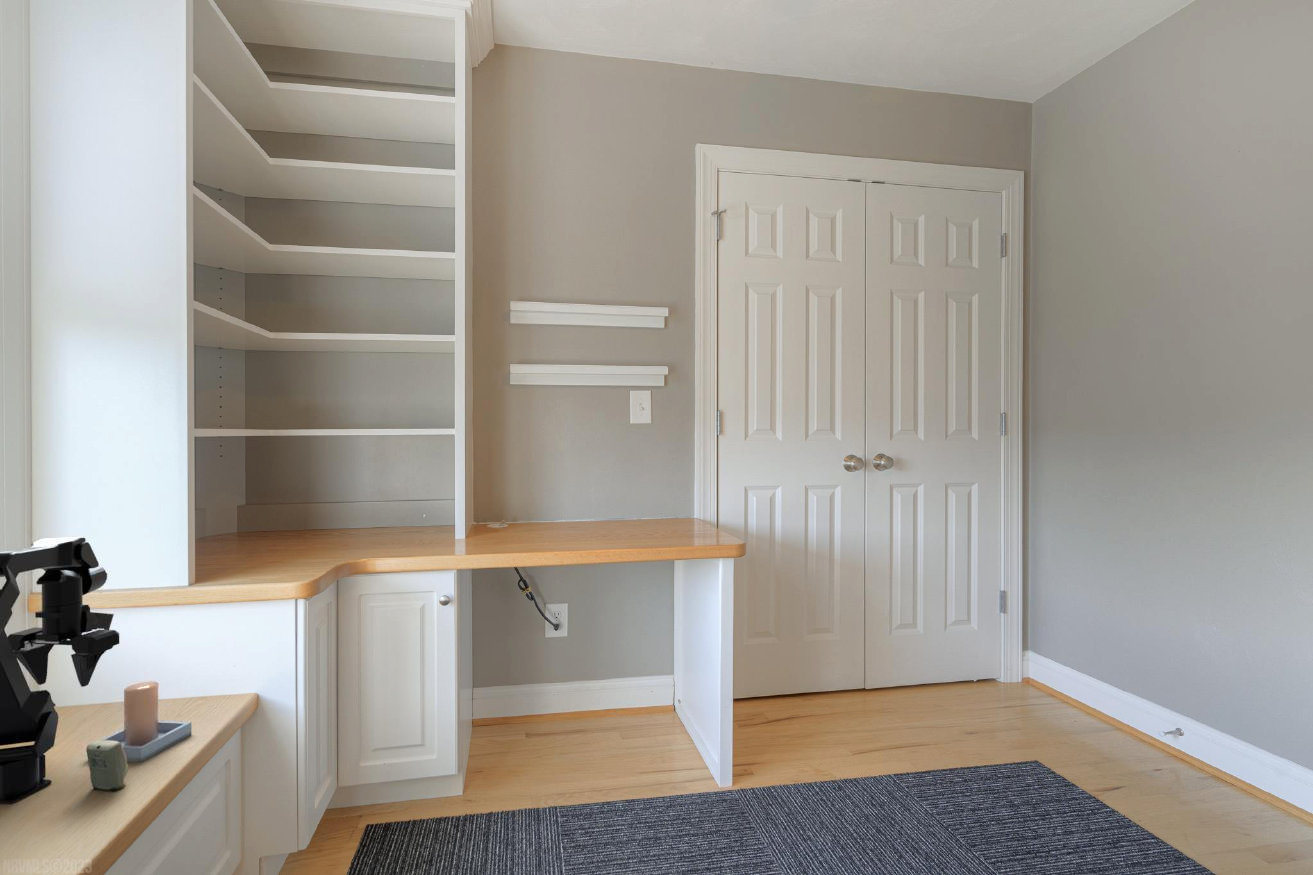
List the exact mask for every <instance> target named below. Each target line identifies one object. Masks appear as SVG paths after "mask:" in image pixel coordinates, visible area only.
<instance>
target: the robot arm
mask: <svg viewBox="0 0 1313 875" xmlns="http://www.w3.org/2000/svg"><path fill="white" fill-rule="evenodd" d="M86 540H87V539H86V538H85V537H84V536H67V537H66V536H65V537H64V536H63V537H61V536H60V537H44V538H41V539H39V540H36V541H34V542H32V543H31V546H29V547H24V548H17V549H11V550H6V551H5V550H4V551H0V578H4V579H5V580H6V581H5V582H4V584H3V586H2V588H1V589H0V746H9V745H10V746H11V745H18V744H25V743H33V744H28V745H21V746H12V747H6V748H0V804H13V803H16V802H18V801H19V800H22V799H23V798H26V797H28V796H29V795H31V794H33V793H35V792H37V791H39V790H40V789H43V788H45V787H47V786H49V785H51V784H52V781H53V780H52V779H46V776H47V775H46V770H47V768H46V754H45V753H47V752H48V751H49V750H50V749H52V748H53V747H54V746H55V741H56V734H57V729H58V723H59V714H58V712H57V711H56V709H55V707H56V706H57V705H56V703H55V702H54V701H53V699H52V695H51V693H50V691H49V690H47V689H43V690H34V691H33V690H31V688H30V686H29V684H28V682H27V679H26V677H25V675H24V674H25V673H24V672H23V670H22V667H21V666H20V664H21V665H22V666H23V667H24V668H25V670H26V671H27V672H28V673H29V675H30V676H31V678H32V679H33V680H34V681H35V683H36V684H37V685H39V686H42V685H44V684H46V683H47V678H48V677H47V676H48V668H49V667H48V666H49V653H50V652H51V650H52V649H53V647H54V646H71V649H72V651H73V652H74V653H72V654H70V656H71V660H72V664H73V667H74V670H75V674H76V677H77V680H78V683H79V685H80V687H82V688H84V687H87V686H88V685H89V684H90V681H91V679H92V676H93V674H94V671H95V669H96V666H97V664H98V662H99V660H101V657H102V656H103V655H104V654H105V653H106V652H107V651H109V650H112V649H113V648H114V646H117V645H119V644H120V632H118V631H117V630H115V629H110V628H111V625H112V622H113V618H114V616H115V614H114V613H104V612H94V611H91V607H90V605H89V604H83V596H85V595H87V594H90V593H92V592H94V591H96V590H98V589H101V588H102V587H103V586H104V585H105V584H106V582H107V580H108V573H107V572H106V569H105V568H104V567H103V566H101V565H99V561H98V559H97V557H96V554H95V552H94V550H93V548H92V546H91V544H90V543H89V542H88V541H86ZM38 569H39V570H40V569H41V570H43V571H44V573H43V574H42V575H41V576H40V577H38V578H37V580H36V585H37V586H40V585H41V610H38V611H35V612H34V614H35V616H34V617H35V618H36V619H38V618H40V619H41V627H31V628H28V629H24V630H20V631H16V632H13V633H10V634H8V635H7V633H6V629H5V628H6V627H7V625H8V623H9V621H10V620H11V618H12V615H13V610H12V609H13V606H14V605H15V604H16V602H17V600H18V597H19V596H20V594H21V591H20V588H19V586H18V582H17V580H16V579H17V577H18V576H19V574H20V573H25V572H29V571H30V572H31V571H34V570H38ZM15 801H16V802H15Z"/></svg>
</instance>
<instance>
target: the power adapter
mask: <svg viewBox="0 0 1313 875" xmlns="http://www.w3.org/2000/svg"><path fill="white" fill-rule="evenodd" d="M85 750H86V756H87V762H88V767H89V772H90V773H89V775H90V781H91V786H92V788H93V790H94V791H102V792H116V791H119V790H121V789H123V788H124V787H126V785H125V782H124V780H125V778H126V776H127V774H128V773H129V772H128V771H129V765H128V761H127V759H126V755H125V752H124V750H123V747H122V745H121V743H120V742H118V741H111V740H105V741H99V740H97V741H93V742H90V743H89V744H88V745H87V746H86V749H85Z"/></svg>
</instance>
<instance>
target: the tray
mask: <svg viewBox="0 0 1313 875" xmlns="http://www.w3.org/2000/svg"><path fill="white" fill-rule="evenodd" d="M191 735H192V722H191V721H175V720H158V738H156V739H154V740H153V741H151V742H149V743H147V744H145V745H143V746H129V745H124V728H123V729H120V730H118V731H117V732H114V733H112V734H110V735H108V736H106V737H103V738H102V739H100V740H98V741H105V740H111V741H118V742H120V743H121V745H122V747H123V750H124V752H125V755H126V759H127V762H137V763H143V762H145V761H146V760H148V759H150V758H151V757H153V756H155V755H157V754H159V753H160V752H163V751H164V750H166V749H167V748H169V747H171V746H173V745H175V744H177V743H179V742H180V741H182V740H184V739H185V738H188V737H190V736H191Z"/></svg>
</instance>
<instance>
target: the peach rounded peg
mask: <svg viewBox="0 0 1313 875" xmlns="http://www.w3.org/2000/svg"><path fill="white" fill-rule="evenodd" d="M158 721H159V682H158V681H143V682H142V681H141V682H138V683H134V684H132V685H129V686H126V687H125V688H124V690H123V729H124V745H129V746H143V745H145V744H147V743H149V742H151V741H153V740H154V739H156V738H158Z"/></svg>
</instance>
